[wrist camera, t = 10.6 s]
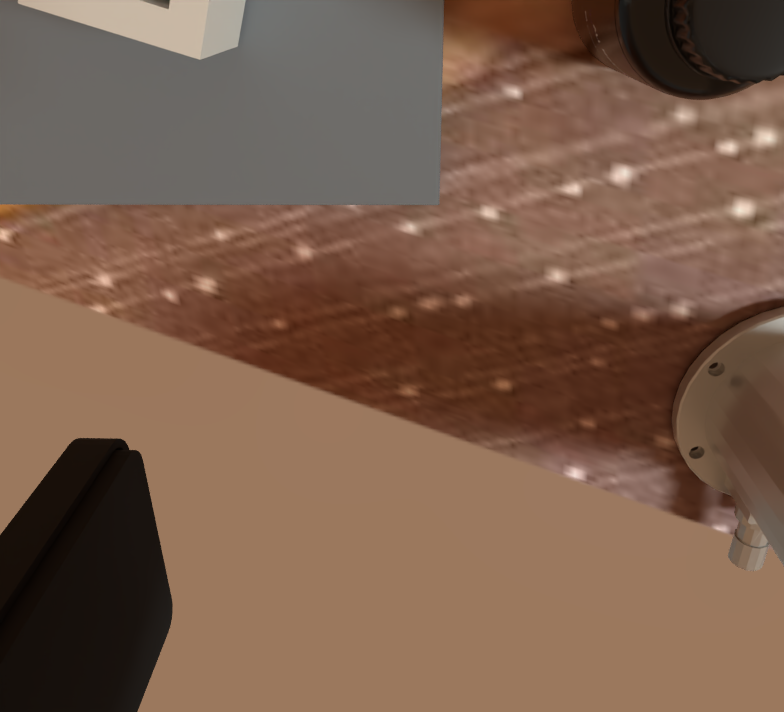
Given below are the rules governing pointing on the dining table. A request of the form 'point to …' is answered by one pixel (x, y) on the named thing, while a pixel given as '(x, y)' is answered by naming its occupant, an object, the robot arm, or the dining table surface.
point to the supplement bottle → (686, 42)
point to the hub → (159, 21)
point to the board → (227, 109)
